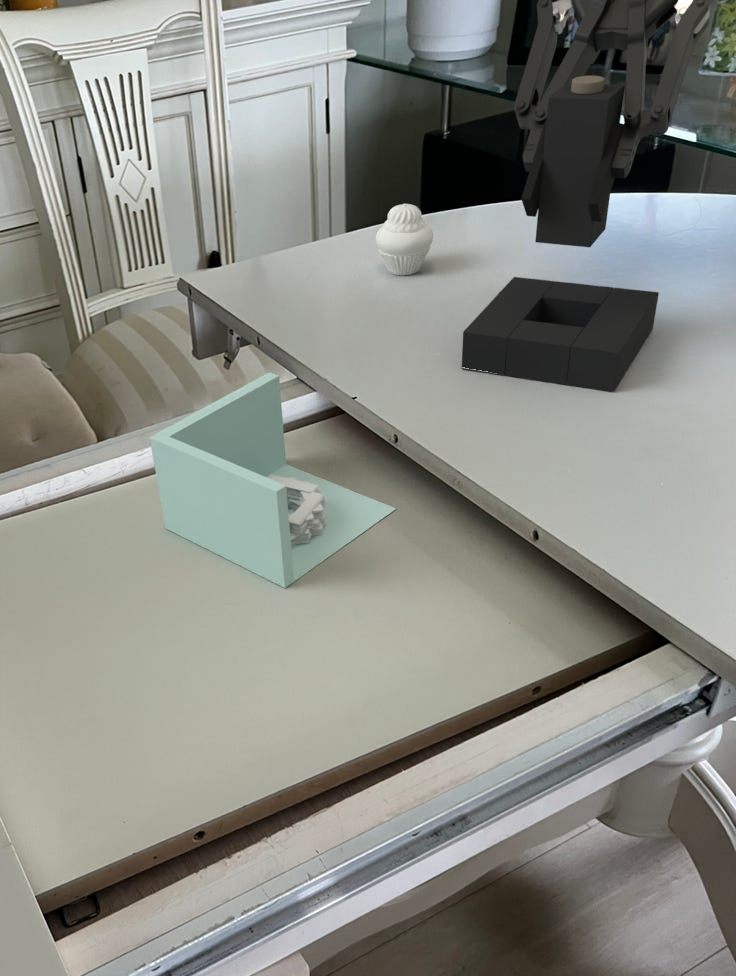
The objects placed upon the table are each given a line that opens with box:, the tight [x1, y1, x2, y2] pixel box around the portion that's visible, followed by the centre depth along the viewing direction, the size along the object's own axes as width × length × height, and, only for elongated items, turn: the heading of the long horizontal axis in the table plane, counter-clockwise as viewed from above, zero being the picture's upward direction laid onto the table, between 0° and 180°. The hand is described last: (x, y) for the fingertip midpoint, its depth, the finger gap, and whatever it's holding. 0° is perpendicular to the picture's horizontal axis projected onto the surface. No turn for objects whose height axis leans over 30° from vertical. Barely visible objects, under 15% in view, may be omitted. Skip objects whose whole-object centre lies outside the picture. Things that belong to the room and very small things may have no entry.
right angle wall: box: [149, 372, 397, 589], centre depth 71 cm, size 12×12×8 cm
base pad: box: [461, 276, 660, 393], centre depth 89 cm, size 13×13×4 cm
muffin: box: [375, 202, 434, 276], centre depth 106 cm, size 6×6×7 cm
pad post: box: [534, 75, 626, 248], centre depth 80 cm, size 5×5×12 cm
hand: (561, 209), depth 80 cm, fingers closed on pad post, 5 cm apart
